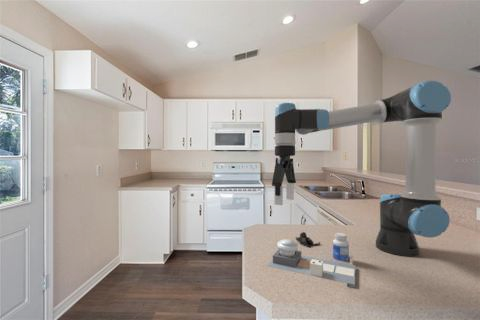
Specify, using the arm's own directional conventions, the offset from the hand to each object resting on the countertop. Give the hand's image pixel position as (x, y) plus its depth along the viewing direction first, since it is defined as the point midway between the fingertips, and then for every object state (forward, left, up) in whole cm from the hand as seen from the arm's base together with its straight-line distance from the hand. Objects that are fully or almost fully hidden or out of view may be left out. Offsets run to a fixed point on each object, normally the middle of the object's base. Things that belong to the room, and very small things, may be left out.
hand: (284, 202), depth 88 cm
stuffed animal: (-3, -19, -22) cm, 29 cm away
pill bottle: (-19, -9, -22) cm, 30 cm away
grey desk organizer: (-10, +3, -22) cm, 24 cm away
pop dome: (-2, +2, -19) cm, 19 cm away
